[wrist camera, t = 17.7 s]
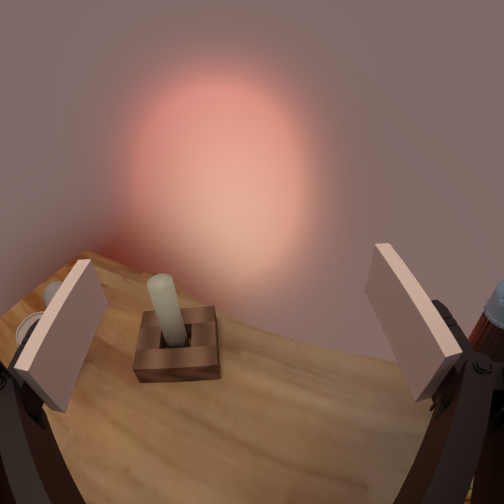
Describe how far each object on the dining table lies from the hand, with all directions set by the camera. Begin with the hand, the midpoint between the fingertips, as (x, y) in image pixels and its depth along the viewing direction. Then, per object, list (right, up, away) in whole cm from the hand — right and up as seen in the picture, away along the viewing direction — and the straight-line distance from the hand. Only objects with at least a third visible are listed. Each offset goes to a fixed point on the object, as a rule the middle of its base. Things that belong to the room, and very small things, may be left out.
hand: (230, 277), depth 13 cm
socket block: (-12, -17, +38) cm, 43 cm away
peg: (-12, -17, +38) cm, 43 cm away
